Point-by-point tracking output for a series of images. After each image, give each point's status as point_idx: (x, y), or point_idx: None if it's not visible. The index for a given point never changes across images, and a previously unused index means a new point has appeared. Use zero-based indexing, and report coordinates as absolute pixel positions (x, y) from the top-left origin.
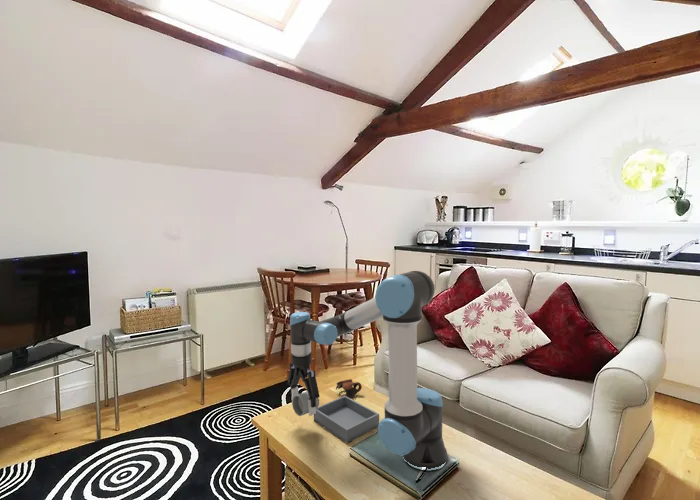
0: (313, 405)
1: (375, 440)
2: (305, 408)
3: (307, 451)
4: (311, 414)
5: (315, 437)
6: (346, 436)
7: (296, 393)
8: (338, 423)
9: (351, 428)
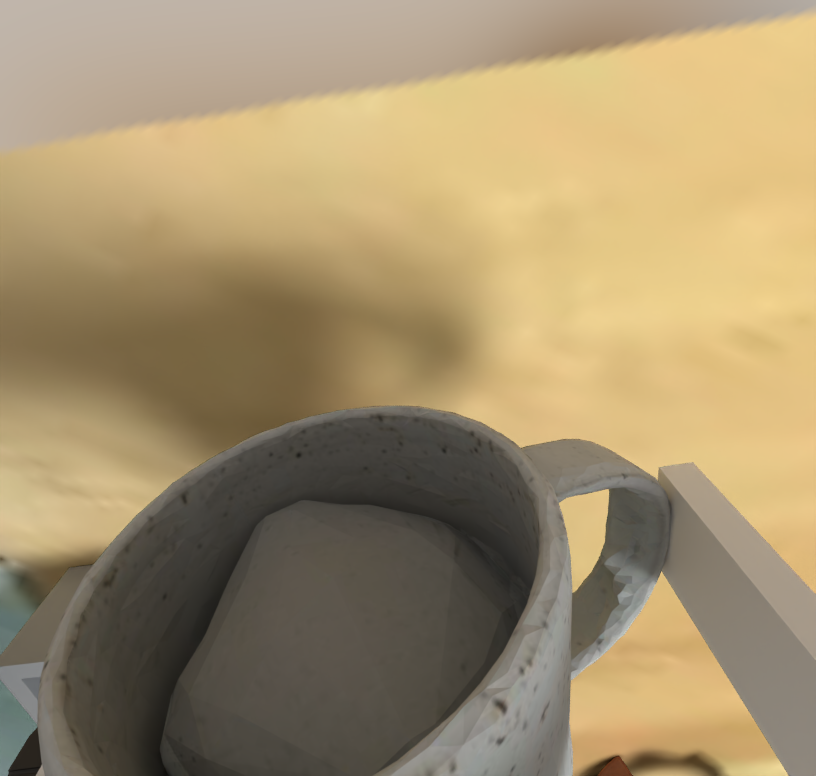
0: (23, 764)
1: None
2: (97, 605)
3: (50, 263)
4: None
5: (249, 419)
6: (43, 609)
7: (776, 709)
8: None
9: (22, 696)
